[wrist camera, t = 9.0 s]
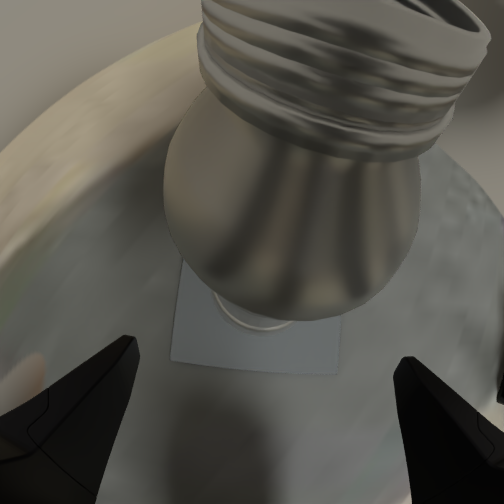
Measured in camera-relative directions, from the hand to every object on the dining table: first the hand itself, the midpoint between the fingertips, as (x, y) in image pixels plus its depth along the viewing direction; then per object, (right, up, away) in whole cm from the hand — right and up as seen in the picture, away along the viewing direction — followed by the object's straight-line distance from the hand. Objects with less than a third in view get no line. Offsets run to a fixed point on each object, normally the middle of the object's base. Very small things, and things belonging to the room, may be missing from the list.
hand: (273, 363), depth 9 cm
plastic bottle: (0, +1, +12) cm, 12 cm away
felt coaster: (0, +1, +13) cm, 13 cm away
